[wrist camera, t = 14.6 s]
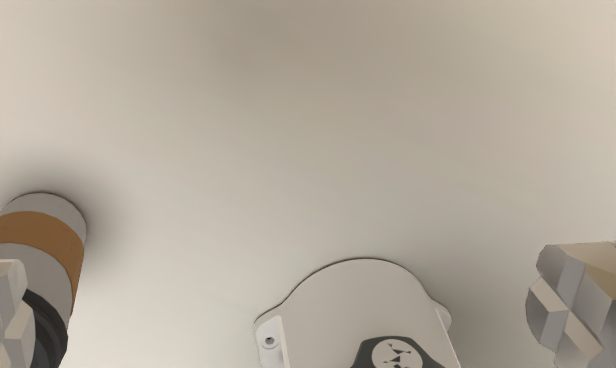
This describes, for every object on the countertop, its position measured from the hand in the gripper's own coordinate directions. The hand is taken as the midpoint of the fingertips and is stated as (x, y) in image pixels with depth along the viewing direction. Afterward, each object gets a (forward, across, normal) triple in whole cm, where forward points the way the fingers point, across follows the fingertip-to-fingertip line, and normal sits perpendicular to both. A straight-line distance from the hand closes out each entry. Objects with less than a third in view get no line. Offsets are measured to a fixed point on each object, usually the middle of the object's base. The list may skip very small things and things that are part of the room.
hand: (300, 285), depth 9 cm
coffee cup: (+34, +14, +19) cm, 42 cm away
